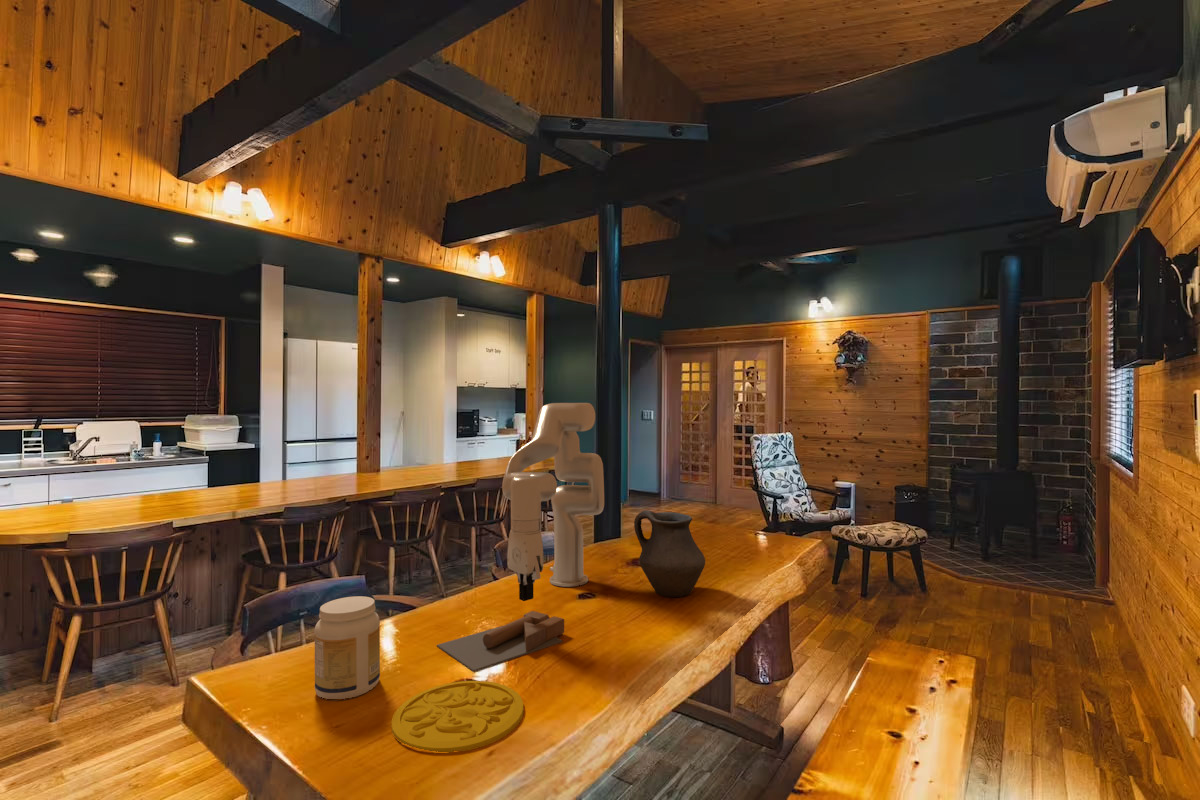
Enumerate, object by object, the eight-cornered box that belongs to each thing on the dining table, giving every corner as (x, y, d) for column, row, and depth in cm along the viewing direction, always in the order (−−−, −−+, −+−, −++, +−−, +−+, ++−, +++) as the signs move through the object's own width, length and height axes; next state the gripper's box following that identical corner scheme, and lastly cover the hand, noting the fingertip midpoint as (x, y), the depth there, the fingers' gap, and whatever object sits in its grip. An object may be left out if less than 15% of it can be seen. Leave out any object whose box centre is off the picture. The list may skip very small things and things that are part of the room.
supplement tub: (361, 668, 124) (361, 590, 125) (391, 685, 117) (391, 601, 117) (303, 690, 115) (303, 605, 115) (331, 709, 107) (332, 618, 108)
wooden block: (564, 633, 143) (515, 658, 128) (532, 624, 149) (481, 647, 134) (564, 618, 143) (515, 641, 128) (532, 610, 149) (481, 631, 134)
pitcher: (704, 605, 163) (703, 518, 164) (629, 601, 167) (629, 516, 168) (706, 584, 183) (705, 506, 184) (639, 581, 187) (638, 505, 188)
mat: (436, 646, 136) (436, 644, 136) (521, 621, 152) (521, 620, 152) (473, 672, 122) (473, 670, 122) (562, 641, 138) (562, 640, 138)
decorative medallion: (445, 679, 120) (445, 669, 120) (545, 698, 112) (545, 688, 112) (361, 738, 98) (361, 727, 98) (477, 769, 90) (477, 756, 90)
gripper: (497, 523, 146) (497, 595, 145) (530, 532, 134) (530, 610, 134) (522, 519, 151) (522, 589, 150) (555, 527, 139) (556, 603, 139)
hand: (526, 599), depth 142 cm, fingers closed
